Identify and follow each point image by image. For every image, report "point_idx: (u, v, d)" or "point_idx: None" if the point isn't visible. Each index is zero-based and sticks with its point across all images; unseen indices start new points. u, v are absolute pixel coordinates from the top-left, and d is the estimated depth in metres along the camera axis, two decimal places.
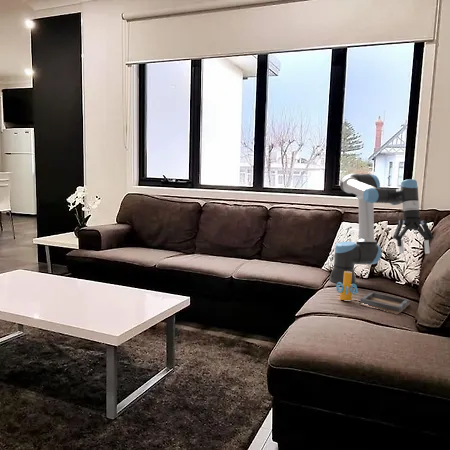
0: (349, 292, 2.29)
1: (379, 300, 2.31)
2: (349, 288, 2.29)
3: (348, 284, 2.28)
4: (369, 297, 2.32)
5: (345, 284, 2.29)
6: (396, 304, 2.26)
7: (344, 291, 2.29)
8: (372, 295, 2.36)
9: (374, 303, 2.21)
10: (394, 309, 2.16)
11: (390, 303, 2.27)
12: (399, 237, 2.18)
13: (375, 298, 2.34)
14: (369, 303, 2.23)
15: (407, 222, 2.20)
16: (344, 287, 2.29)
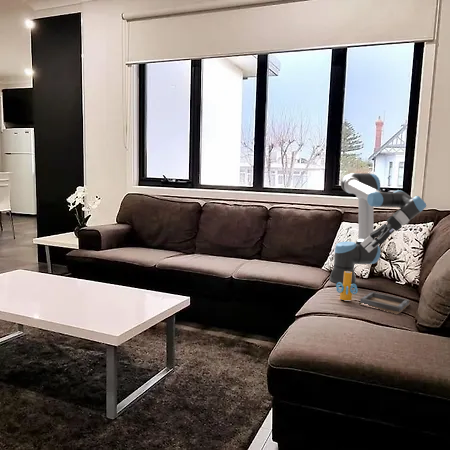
0: (349, 292, 2.29)
1: (379, 300, 2.31)
2: (349, 288, 2.29)
3: (348, 284, 2.28)
4: (369, 297, 2.32)
5: (345, 284, 2.29)
6: (396, 304, 2.26)
7: (344, 291, 2.29)
8: (372, 295, 2.36)
9: (374, 303, 2.21)
10: (394, 309, 2.16)
11: (390, 303, 2.27)
12: None
13: (375, 298, 2.34)
14: (369, 303, 2.23)
15: None
16: (344, 287, 2.29)
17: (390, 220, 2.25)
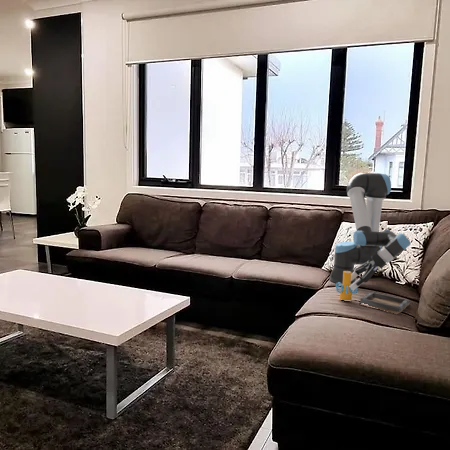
0: (349, 292, 2.29)
1: (379, 300, 2.31)
2: (349, 288, 2.29)
3: (348, 284, 2.29)
4: (369, 297, 2.32)
5: (345, 284, 2.29)
6: (396, 304, 2.26)
7: (344, 291, 2.29)
8: (372, 295, 2.36)
9: (374, 303, 2.21)
10: (394, 309, 2.16)
11: (390, 303, 2.27)
12: None
13: (375, 298, 2.34)
14: (369, 303, 2.23)
15: None
16: (344, 287, 2.29)
17: (374, 258, 2.24)
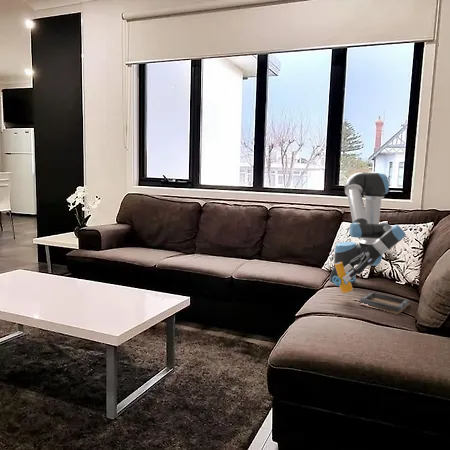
0: None
1: (379, 300, 2.31)
2: None
3: (343, 274, 2.28)
4: (369, 297, 2.32)
5: (341, 275, 2.28)
6: (396, 304, 2.26)
7: (342, 282, 2.28)
8: (372, 295, 2.36)
9: (374, 303, 2.21)
10: (394, 309, 2.16)
11: (390, 303, 2.27)
12: None
13: (375, 298, 2.34)
14: (369, 303, 2.23)
15: None
16: (341, 278, 2.28)
17: (369, 249, 2.24)
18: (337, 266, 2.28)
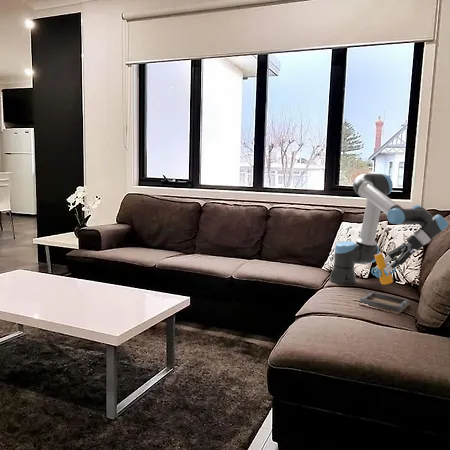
0: (388, 273, 2.23)
1: (379, 300, 2.31)
2: None
3: (384, 265, 2.23)
4: (369, 297, 2.32)
5: (381, 267, 2.23)
6: (396, 304, 2.26)
7: (383, 274, 2.23)
8: (372, 295, 2.36)
9: (374, 303, 2.21)
10: (394, 309, 2.16)
11: (390, 303, 2.27)
12: None
13: (375, 298, 2.34)
14: (369, 303, 2.23)
15: None
16: (381, 270, 2.23)
17: (411, 239, 2.19)
18: (377, 257, 2.23)
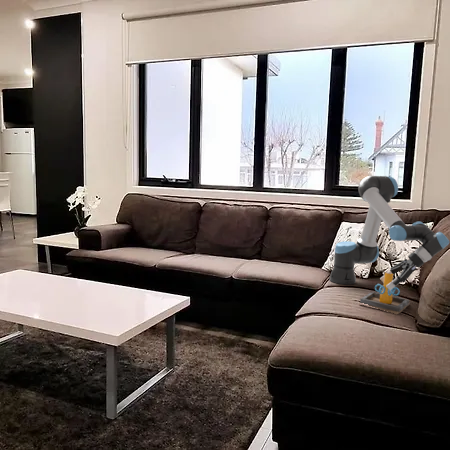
0: (390, 294, 2.24)
1: None
2: None
3: None
4: (369, 297, 2.32)
5: None
6: (396, 304, 2.26)
7: (386, 292, 2.24)
8: (372, 295, 2.36)
9: (374, 303, 2.21)
10: (394, 309, 2.16)
11: None
12: None
13: (375, 298, 2.34)
14: (369, 303, 2.23)
15: None
16: (385, 288, 2.25)
17: (412, 257, 2.19)
18: (387, 275, 2.24)
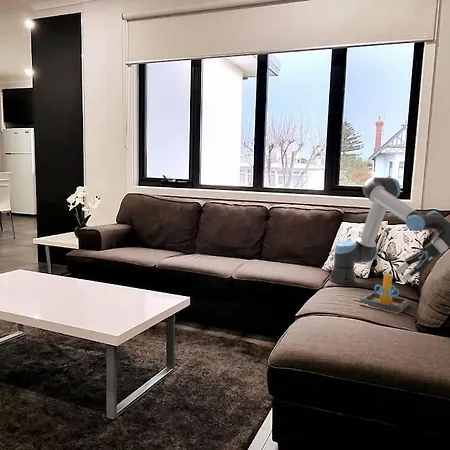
0: (390, 295, 2.24)
1: None
2: None
3: (389, 287, 2.23)
4: (369, 297, 2.32)
5: (386, 287, 2.23)
6: (396, 304, 2.26)
7: (385, 294, 2.24)
8: (372, 295, 2.36)
9: (374, 303, 2.21)
10: (394, 309, 2.16)
11: None
12: (419, 271, 2.14)
13: (375, 298, 2.34)
14: (369, 303, 2.23)
15: None
16: (385, 290, 2.24)
17: (428, 247, 2.17)
18: (386, 277, 2.22)
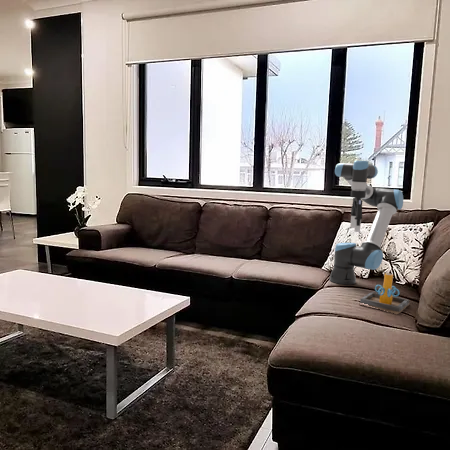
0: (390, 295, 2.24)
1: None
2: (390, 291, 2.24)
3: (389, 286, 2.23)
4: (369, 297, 2.32)
5: (386, 286, 2.24)
6: (396, 304, 2.26)
7: (385, 294, 2.24)
8: (372, 295, 2.36)
9: (374, 303, 2.21)
10: (394, 309, 2.16)
11: None
12: None
13: (375, 298, 2.34)
14: (369, 303, 2.23)
15: None
16: (385, 290, 2.24)
17: (353, 195, 2.36)
18: (387, 276, 2.23)
